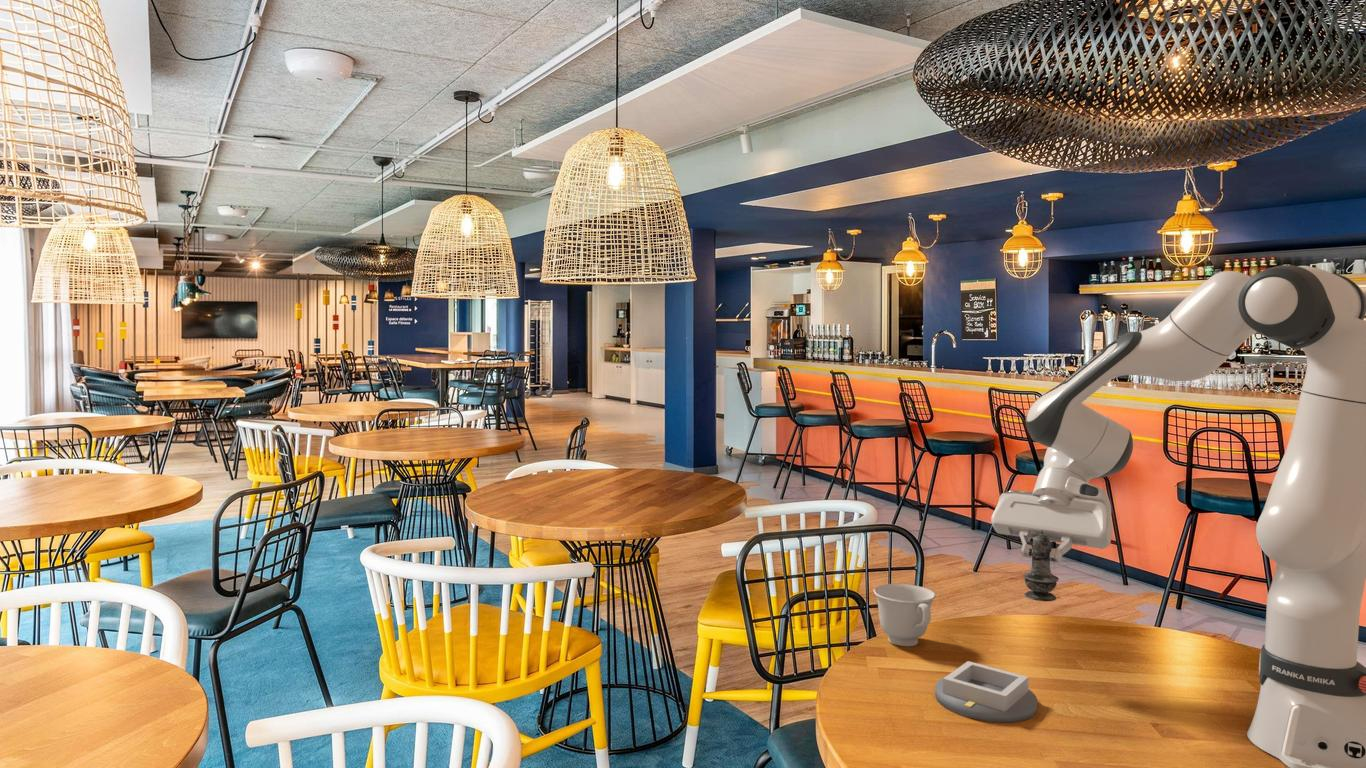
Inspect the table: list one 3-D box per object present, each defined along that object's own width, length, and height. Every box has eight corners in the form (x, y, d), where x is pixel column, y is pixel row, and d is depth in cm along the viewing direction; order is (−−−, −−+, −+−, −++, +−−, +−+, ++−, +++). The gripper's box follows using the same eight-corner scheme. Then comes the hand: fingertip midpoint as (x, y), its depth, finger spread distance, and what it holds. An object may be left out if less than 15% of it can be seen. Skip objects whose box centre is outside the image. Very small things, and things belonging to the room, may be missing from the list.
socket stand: (1050, 699, 143) (1051, 676, 143) (1016, 732, 131) (1017, 707, 131) (958, 674, 154) (959, 652, 154) (919, 702, 142) (919, 678, 142)
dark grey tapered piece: (1051, 592, 155) (1052, 526, 154) (1063, 602, 149) (1065, 534, 148) (1017, 591, 155) (1019, 526, 154) (1028, 601, 149) (1030, 533, 148)
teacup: (898, 660, 160) (900, 608, 160) (861, 633, 175) (862, 585, 174) (955, 654, 163) (956, 603, 163) (914, 629, 178) (915, 581, 177)
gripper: (998, 479, 163) (977, 538, 156) (1115, 491, 149) (1097, 556, 143) (1006, 499, 166) (986, 558, 160) (1121, 512, 153) (1104, 577, 146)
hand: (1039, 557), depth 151 cm, fingers closed on dark grey tapered piece, 4 cm apart
